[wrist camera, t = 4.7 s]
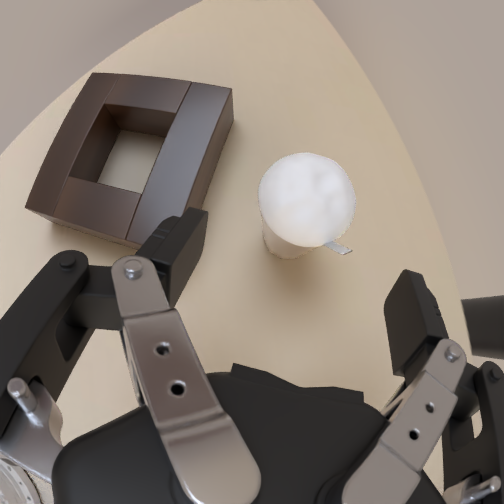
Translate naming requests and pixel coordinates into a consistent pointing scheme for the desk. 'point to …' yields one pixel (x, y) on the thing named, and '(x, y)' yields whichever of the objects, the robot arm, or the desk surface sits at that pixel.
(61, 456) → the robot arm
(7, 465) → the mechanical component
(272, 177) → the milkshake
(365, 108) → the desk surface
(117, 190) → the socket block
